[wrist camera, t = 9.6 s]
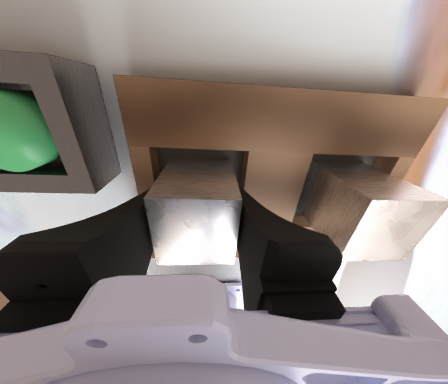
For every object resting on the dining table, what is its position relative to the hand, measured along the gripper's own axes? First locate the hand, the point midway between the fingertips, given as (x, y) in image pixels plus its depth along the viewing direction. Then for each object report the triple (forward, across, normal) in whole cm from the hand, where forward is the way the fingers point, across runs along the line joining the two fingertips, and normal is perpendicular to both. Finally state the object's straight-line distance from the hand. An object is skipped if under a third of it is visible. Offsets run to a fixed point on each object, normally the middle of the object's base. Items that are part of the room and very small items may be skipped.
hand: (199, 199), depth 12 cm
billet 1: (+3, 0, 0) cm, 3 cm away
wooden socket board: (+3, -6, 0) cm, 6 cm away
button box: (+3, +10, -4) cm, 11 cm away
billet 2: (+3, -11, 0) cm, 11 cm away
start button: (+2, +10, -4) cm, 11 cm away
